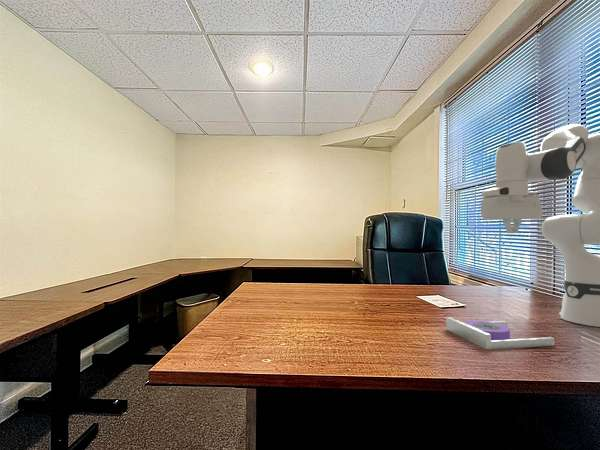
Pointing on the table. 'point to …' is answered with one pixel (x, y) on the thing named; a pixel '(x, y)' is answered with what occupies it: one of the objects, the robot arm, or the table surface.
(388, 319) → the table surface
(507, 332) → the masking tape
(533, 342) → the guide channel
